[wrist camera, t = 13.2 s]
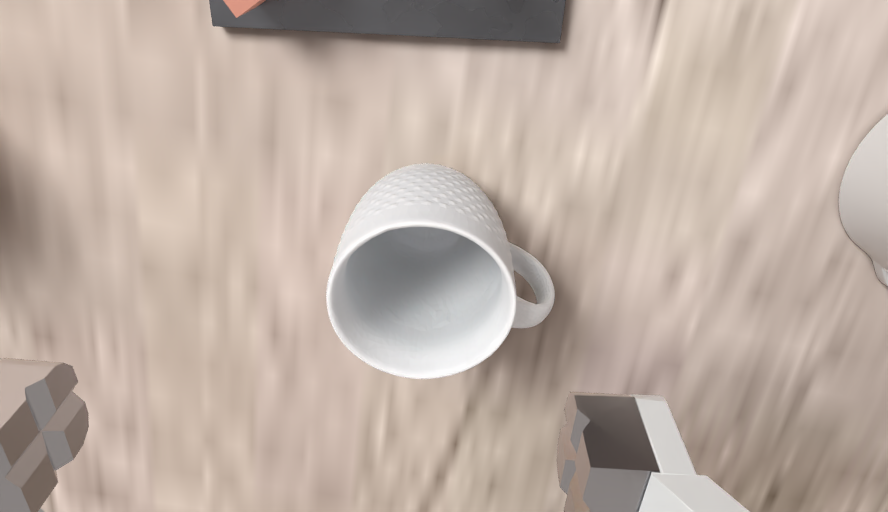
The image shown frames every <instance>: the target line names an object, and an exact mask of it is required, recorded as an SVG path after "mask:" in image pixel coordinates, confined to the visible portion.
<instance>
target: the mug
mask: <svg viewBox="0 0 888 512" xmlns="http://www.w3.org/2000/svg"><path fill="white" fill-rule="evenodd" d="M514 270H515V271H516V272H518V273H519V274H520V275H521V276H523V277H524V278H525V279H526V281H527V282H528V283H529V284H530V286H531V287H532V289H533V291H534V293H535V295H536V299H537V304H534V303H531V302H528V301H526V300H524V299H522V298H520V297H518V296H516V286H515V278H514ZM326 300H327V310H328V315H329V318H330V321H331V324H332V326H333V328H334V330H335V332H336V334H337V335H338V337H339V338H340V340H341V341H342V342H343V344H344V345H345V346H346V347H347V348H348V349H349V350H350V351H351V352H352V353H353V354H354V355H355V356H357V357H358V358H359V359H361V360H362V361H364V362H365V363H367V364H369V365H371V366H372V367H374V368H376V369H378V370H381V371H383V372H386V373H389V374H392V375H395V376H400V377H405V378H413V379H434V378H441V377H446V376H450V375H454V374H457V373H460V372H463V371H466V370H468V369H470V368H472V367H474V366H476V365H478V364H479V363H481V362H483V361H484V360H485V359H487V358H488V357H489V356H491V355H492V354H493V353H494V352H495V351H496V350H497V349H498V348H499V347H500V345H501V344H502V343H503V342H504V340H505V339H506V337H507V336H508V334H509V332H510V330H511V327H512V328H530V327H534V326H536V325H538V324H539V323H541V322H542V321H543V320H544V319H545V318H546V317H547V315H548V314H549V313H550V311H551V309H552V307H553V304H554V300H555V290H554V285H553V282H552V280H551V277H550V275H549V274H548V272H547V270H546V269H545V267H544V266H543V265H542V264H541V263H540V262H539V261H538V260H537V259H536V258H535V257H533V256H532V255H531V254H529V253H528V252H526V251H525V250H523V249H521V248H520V247H518V246H516V245H514V244H512V243H510V242H508V240H507V236H506V232H505V230H504V228H503V223H502V221H501V220H500V218H499V216H498V212H497V211H496V210H495V208H494V206H493V203H492V202H491V201H490V200H489V199H488V197H487V195H486V194H485V193H484V192H483V191H481V189H480V187H479V186H478V185H477V184H475V183H474V182H473V181H472V180H471V179H470V178H468V177H466V176H465V175H464V174H463V173H460V172H458V171H456V170H454V169H452V168H448V167H446V166H442V165H436V164H428V163H426V164H423V163H422V164H414V165H410V166H404V167H402V168H400V169H397V170H395V171H393V172H391V173H389V174H388V175H386V176H384V177H383V178H382V179H380V180H379V181H377V182H376V183H375V185H373V186H372V187H370V188H369V190H368V191H367V193H366V194H365V195H363V196H362V198H361V201H360V202H359V203H358V204H357V205H356V207H355V210H354V212H353V213H352V214H351V216H350V219H349V222H348V223H347V225H346V226H345V231H344V233H343V234H342V237H341V242H340V244H339V245H338V248H337V253H336V255H335V257H334V263H333V267H332V270H331V273H330V276H329V279H328V284H327V292H326Z"/></svg>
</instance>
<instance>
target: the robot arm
mask: <svg viewBox="0 0 888 512" xmlns="http://www.w3.org/2000/svg"><path fill="white" fill-rule="evenodd" d="M839 212H840V218H841V221H842V224H843V227H844V229H845V231H846V232H847V234H848V236H849V237H850V238H851V239H852V241H853V242H854V243H855V244H856V245H857V246H859V247H860V248H861V249H862V250H863V251H865V252H866V253H867V254H868V255H869V256H870V257H871V259H872V261H873V265H874V269H875V272H876V275H877V277H878V279H879V280H880V282H882V283H883V284H884V285H886V286H888V114H887V115H886V116H885V117H883V118H882V119H881V120H880V121H879V122H878V123H877V124H876V125H875V126H874V127H873V128H872V130H871V131H870V132H869V133H868V134H867V135H866V137H865V138H864V139H863V141H862V142H861V143H860V145H859V146H858V148H857V149H856V151H855V152H854V154H853V156H852V157H851V159H850V161H849V163H848V166H847V168H846V170H845V173H844V176H843V179H842V182H841V187H840V192H839ZM77 383H78V380H77V377H76V374H75V372H74V369H73V367H72V366H71V365H68V364H65V363H61V362H48V361H36V360H24V359H12V358H3V359H1V358H0V512H38V511H39V509H40V508H41V506H42V505H43V503H44V502H45V500H46V499H47V498H48V496H49V495H50V493H51V492H52V490H53V489H54V487H55V486H56V484H57V483H58V479H57V472H56V470H57V469H59V468H61V467H62V466H64V465H65V464H67V463H69V462H70V461H72V460H74V458H75V457H76V455H77V453H78V452H79V450H80V449H81V447H82V446H83V444H84V440H85V437H86V434H87V431H88V427H89V423H88V411H87V407H86V404H85V402H84V401H83V400H82V399H81V398H80V397H78V396H77V395H76V394H75V393H74V392H73V389H74V387H75V386H76V384H77ZM564 410H565V415H566V421H567V424H566V425H565V426H564V427H562V428H561V429H560V433H559V439H558V447H557V470H558V478H559V485H560V488H561V489H562V490H563V491H564V492H565V493H566V494H567V498H566V503H565V507H564V512H750V511H748V510H747V509H746V508H745V507H744V506H742V505H741V504H740V503H739V502H738V501H736V500H735V499H734V498H733V497H732V496H730V495H729V494H728V493H727V492H726V491H724V490H723V489H722V488H721V487H720V486H718V485H717V484H716V483H715V482H714V481H713V480H711V479H710V478H709V477H708V476H703V475H697V473H696V471H695V468H694V466H693V463H692V461H691V458H690V456H689V454H688V451H687V449H686V446H685V444H684V442H683V439H682V437H681V434H680V432H679V430H678V427H677V425H676V422H675V420H674V418H673V415H672V413H671V410H670V408H669V406H668V403H667V401H666V399H665V398H663V397H662V396H658V395H633V394H631V395H625V394H605V393H585V392H570V393H569V395H568V397H567V400H566V404H565V409H564Z"/></svg>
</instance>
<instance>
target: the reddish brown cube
mask: <svg viewBox="0 0 888 512" xmlns="http://www.w3.org/2000/svg"><path fill="white" fill-rule="evenodd" d="M223 1H224V2H225V3H226V5H227V6H228V7H229V9H230V10H231V11H232V13H233V14H234V15H235V17H236V18H237V17H239V16H241V15H243V14H245V13H247V12H249V11H250V10H252V9H254V8H256V7H257V6H259V5H260V4H262V3H263V2H264V1H266V0H223Z"/></svg>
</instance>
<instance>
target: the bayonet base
mask: <svg viewBox="0 0 888 512" xmlns="http://www.w3.org/2000/svg"><path fill="white" fill-rule="evenodd" d="M565 1H566V0H266V1H264V2H263V3H262V4H260V5H259V6H257V7H256V8H254V9H252V10H250V11H249V12H247V13H245V14H243V15H241V16H239V17H237V18H236V17H235V15H234V14H233V13H232V11H231V10H230V9H229V7H228V6H227V5H226V3H225V2H224V1H223V0H209V2H210V9H211V17H212V24H213V26H220V27H241V28H261V29H282V30H302V31H323V32H343V33H364V34H385V35H405V36H426V37H446V38H467V39H487V40H508V41H528V42H549V43H560V38H561V31H562V23H563V16H564V8H565Z"/></svg>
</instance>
